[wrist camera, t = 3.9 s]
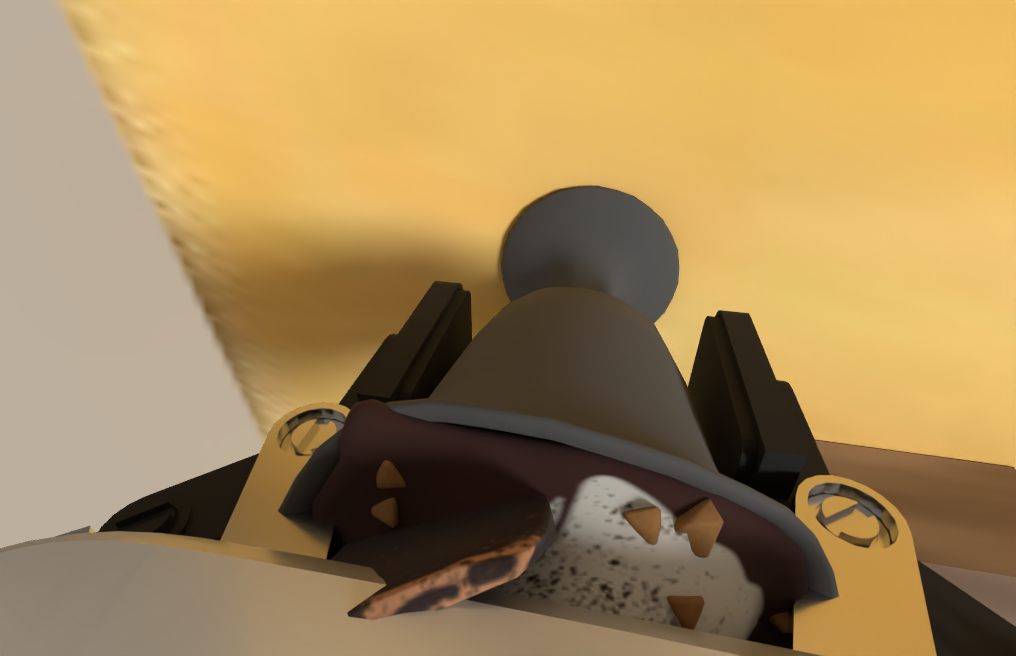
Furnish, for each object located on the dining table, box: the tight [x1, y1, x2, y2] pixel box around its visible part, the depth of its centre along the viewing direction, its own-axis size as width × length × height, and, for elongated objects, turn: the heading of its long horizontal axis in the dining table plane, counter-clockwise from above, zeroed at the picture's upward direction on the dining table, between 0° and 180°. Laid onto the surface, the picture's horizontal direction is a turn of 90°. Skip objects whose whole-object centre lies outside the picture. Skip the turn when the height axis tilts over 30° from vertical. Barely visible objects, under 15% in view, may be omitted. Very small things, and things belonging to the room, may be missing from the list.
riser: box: [815, 440, 1016, 626], centre depth 18 cm, size 14×14×4 cm
